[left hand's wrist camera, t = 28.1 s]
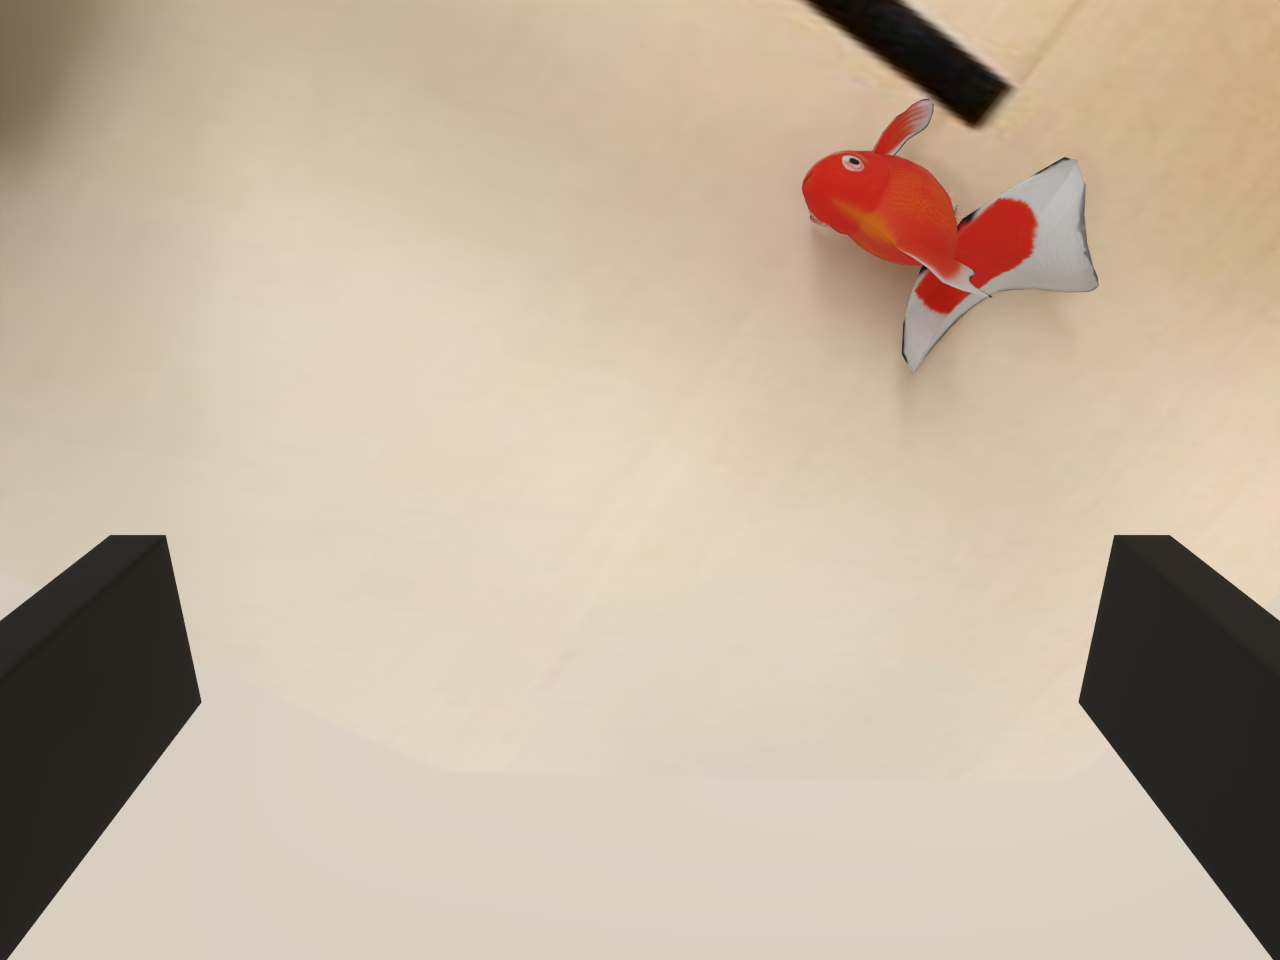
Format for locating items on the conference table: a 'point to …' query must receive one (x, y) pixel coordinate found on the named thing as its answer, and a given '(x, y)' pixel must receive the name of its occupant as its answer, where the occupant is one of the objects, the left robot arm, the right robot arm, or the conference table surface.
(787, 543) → the conference table surface
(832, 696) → the conference table surface
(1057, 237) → the fish
